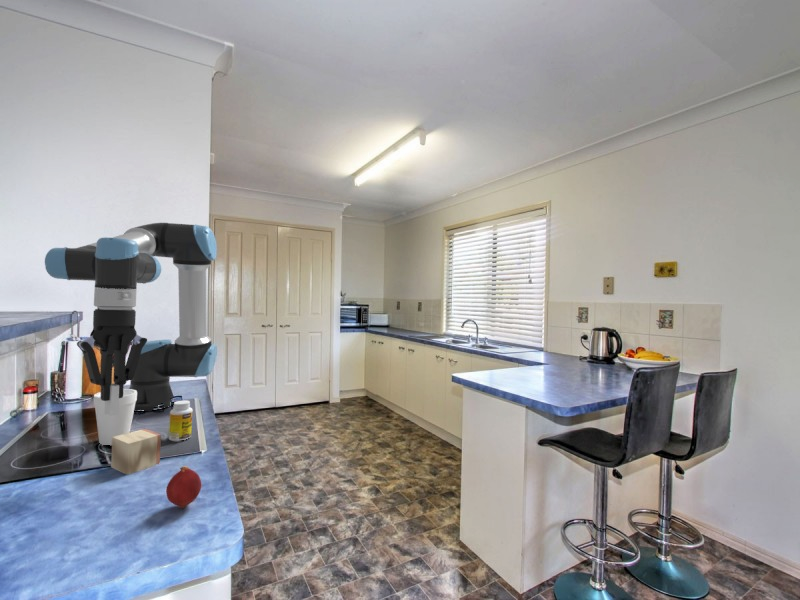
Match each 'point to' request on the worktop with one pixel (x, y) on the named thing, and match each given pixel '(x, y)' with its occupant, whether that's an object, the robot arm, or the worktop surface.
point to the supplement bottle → (180, 421)
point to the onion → (183, 487)
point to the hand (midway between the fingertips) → (111, 413)
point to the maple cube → (135, 451)
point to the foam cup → (115, 416)
